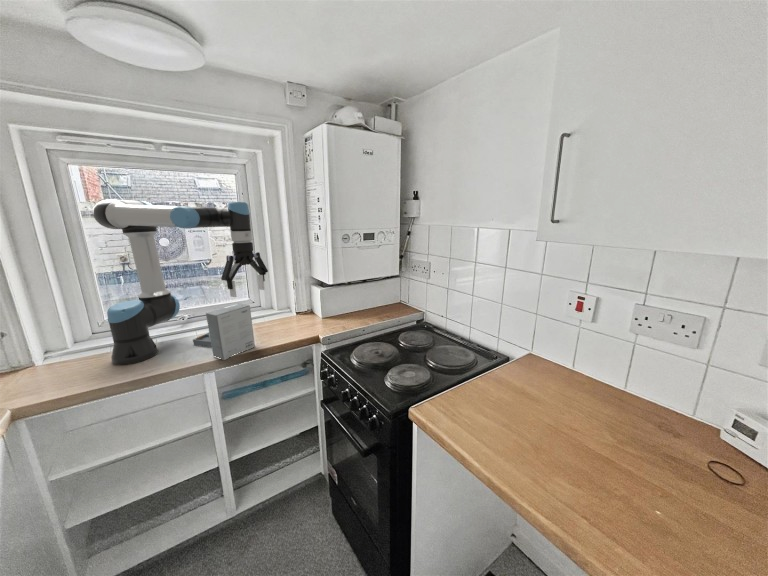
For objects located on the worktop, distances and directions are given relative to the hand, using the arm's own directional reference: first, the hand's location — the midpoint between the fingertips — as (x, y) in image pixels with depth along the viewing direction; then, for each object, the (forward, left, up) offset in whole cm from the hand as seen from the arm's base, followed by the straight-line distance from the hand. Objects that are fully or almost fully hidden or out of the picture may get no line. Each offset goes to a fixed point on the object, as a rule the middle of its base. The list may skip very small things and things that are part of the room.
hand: (248, 292), depth 125 cm
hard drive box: (-8, -3, -27) cm, 28 cm away
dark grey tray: (-26, +9, -27) cm, 38 cm away
